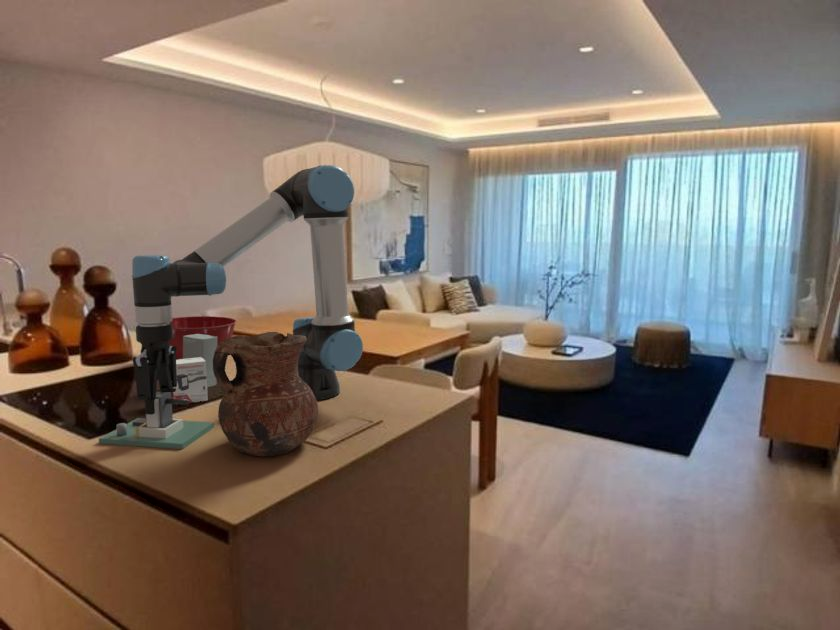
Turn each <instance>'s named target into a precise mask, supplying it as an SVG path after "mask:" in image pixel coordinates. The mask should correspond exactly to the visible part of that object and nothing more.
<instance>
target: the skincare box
mask: <svg viewBox="0 0 840 630" xmlns="http://www.w3.org/2000/svg"><path fill="white" fill-rule="evenodd" d="M217 338H218V337H215V336H210V335H203V334H193V335H186V336H183V359H187V358H198V357H202V358H203V359H204V360H205V361H206V375H207V389H209V388H210V387H215V386H216V385H217V383H218V382H217V380H216V378H215V375H214V372H213V357H214V354H215V353H214V352H215V350H216V348H217Z"/></svg>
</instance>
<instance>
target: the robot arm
mask: <svg viewBox="0 0 840 630" xmlns="http://www.w3.org/2000/svg"><path fill="white" fill-rule="evenodd" d="M354 196H355V187H354V183H353V181H352V178H351V177H350V175H349V174H348V173H347V172H346V171H345V170H344V169H343V168H342V167H340V166H337V165H332V164H329V165H328V164H327V165H326V164H323V165H317V166H315V167H311V168H306V169H302V170H300V171H298V172H296V173H294V174H293V175H292V176H291V177H290V178H288V179H287V180H286V181H284V182H283V183H281V185H279V186H278V187H276V188H275V189H274V190H272V191H270V194H269V198H268V199H266V200H265V201H263V202H262V203H260V204H259V205H258V206H256V207H254V209H252V210H251V211H250V212H248V213H246V214H245V215H243V216H242V217H240V218H239V219H238V220H236V221H235V222H233V223H231V224H230V225H229V226H228V227H226V228H225V229H223V230H222V231H220V232H219V233H217V234H216V235H215V236H213V237H212V238H211V239H209V240H207V241H206V242H205V243H203V244H202V245H200V246H199V247H198V248H196V249H195V250H193V251H192V252H190V253H189V254H188V255H186V256H184V257H183V258H182V259H178V260H175V261H173V262H172V263H171V262H170V257H169V256H168V255H165V254H141V255H140V254H139V255H135V256H134V257H133V259H132V260H131V261H132V266H131V267H132V275H131V278H132V290H133V293H132V294H133V303H134V318H135V319H134V321H135V323H136V326H135V336H136V337H135V340H136V342H137V343H140V345H141V349H140V354H139V355H138V356H133V357H132V362H133V363H132V364H133V366H134V369H135V370H134V371H135V373H134V374H135V384H136V385H135V386H136V396H137V397H136V398H137V400H139V401H144V406H145V410H144V411H145V418H147V427H155V428H159V427H160V416H159V399H156V392H157V387H158V386H157V385H159V390H160V392H171V393H173V392H175V391H176V388H173V387H176V386H177V373H176V352H177V347H176V346H170V344H169V342H168V341H171V340H172V339H173V325H172V324H170V322H171V321H172V318H173V310H172V297H189V296H194V297H195V296H209V297H210V296H213V295H214V296H216V295H221V294H223V293H224V292H225V291H226V285H227V274H226V269H225V267H226V266H227V265H228V264H230V263H232V262H233V261H234V260H236V259H237V258H238V257H240V256H241V255H243V253H245V252H247V251H248V250H249V249H251V248H252V247H253V246H255V245H256V244H257V243H258V242H260V241H262V240H263V239H264V238H266V237H267V236H269V235H271V233H274V231H275V230H277V229H278V228H280V227H281V226H283V225H284V224H285V223H286V222H289V223H294V221H296V220H298V219H299V218H301V217H303V220H304V222H306V223H307V225H309V227H310V228H309V229H310V242H311V243H310V244H311V258H312V271H313V281H314V282H313V283H314V286H313V287H314V298H315V309H316V310H315V312H316V315H315V316H311V317H310V316H309V317H301V318H295V320H294V321H293V324H292V325H293V326H292V334H293V335H303V336H305V337H306V339H307V340H306V342H305V344H304V346H303V348H302V350H301V352H300V355H299V359H298V374H299V377H300V378H301V379H302V380H303V381H304V382H305V383H306V384H307V385H308V386H309V387H310V388H311V390H312V392H313V394H314V396H315V398H316V401H317V400H318V401H319V400H327V399H331V398H334V397H336V396H338V395H339V394H340V393H341V386H340V382H339V378H338V376H337V373H336V372H344V371H347V370H350V369H351V368H353V367H354V366H355V365H356V364H357V363H358V361H359V360H360V359H361V357H362V354H363V350H364V343H363V340H362V338H361V336H360V335H359V333H357V332H356V324H355V318H354V317H353V316H352V315H351V314H350V313H349V304H348V288H347V285H348V284H347V270H346V256H345V236H344V224H345V222H347V221H348V219H349V210H348V209H349V207H350V206H351V204H352V202H353V200H354ZM137 324H138V325H137ZM169 355H170V356H169ZM337 394H338V395H337ZM333 396H334V397H333ZM330 397H331V398H330ZM326 398H327V399H326Z"/></svg>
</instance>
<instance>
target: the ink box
mask: <svg viewBox="0 0 840 630" xmlns="http://www.w3.org/2000/svg"><path fill="white" fill-rule="evenodd" d="M176 373H177V386H176V387H173V388H176V391H175V392H172V399H186V400H189V401H190V403H189V404H193V402H194V403H199V402H200V401H201V402H205V401H208V399H209V398H208V397H209V395H208V388H207V375H206V361H205V360H204V359H203V358H202V357H198V358H187V359H179V360H176ZM175 405H176V406H178V404H175Z"/></svg>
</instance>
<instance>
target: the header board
mask: <svg viewBox="0 0 840 630" xmlns="http://www.w3.org/2000/svg"><path fill="white" fill-rule="evenodd" d="M214 428H215V422H214V421H213V422H211V421H199V420H196V421H193V420H184V419H181V418H173V424H171V425H169V426H168V427H166V428H148V427H147V426H146V417H145V418H144V417H137V418H135V419H134V420H131V421H130V422H128V423H126V422H121V423H117V424H116V429H114V430H112V431H110V432H108V433H107V434H105V435H102V436H100V437H99V438H98V444H100V445H113V446H116V445H117V446H130V447H144V448H145V447H146V448H159V449H160V448H162V449H177V450H184V449H186V448H187V447H188V446H189V445H191V444H192V443H193V442H195V441H197V440H198V439H199V438H201V437H202V436H204V435H205V434H206V433H208V432H209V431H211V430H212V429H214Z"/></svg>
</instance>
